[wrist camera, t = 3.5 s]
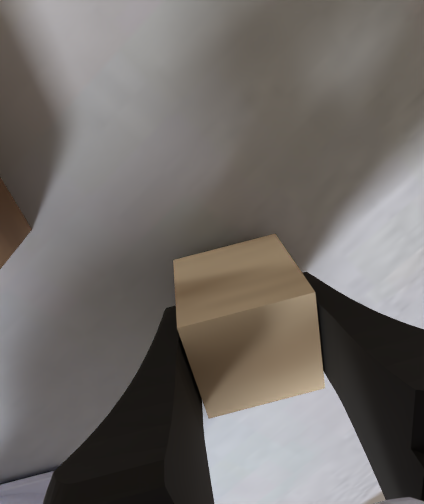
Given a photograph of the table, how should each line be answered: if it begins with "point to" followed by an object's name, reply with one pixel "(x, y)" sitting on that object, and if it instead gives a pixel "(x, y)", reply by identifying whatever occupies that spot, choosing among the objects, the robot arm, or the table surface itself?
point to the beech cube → (248, 325)
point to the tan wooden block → (10, 225)
